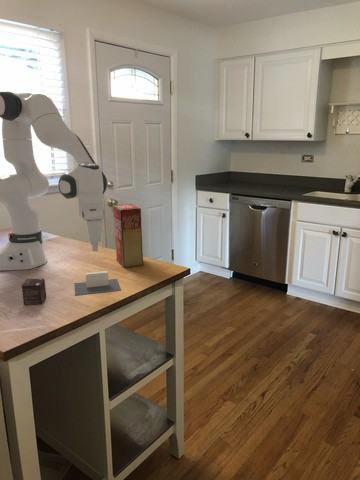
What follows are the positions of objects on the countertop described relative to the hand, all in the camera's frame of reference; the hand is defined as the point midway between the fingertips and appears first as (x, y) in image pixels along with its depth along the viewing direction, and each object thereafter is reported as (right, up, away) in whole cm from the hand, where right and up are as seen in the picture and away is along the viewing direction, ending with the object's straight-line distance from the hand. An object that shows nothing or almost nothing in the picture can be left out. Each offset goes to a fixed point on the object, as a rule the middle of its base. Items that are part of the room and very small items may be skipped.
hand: (94, 248), depth 139 cm
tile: (0, -14, +4) cm, 15 cm away
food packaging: (+9, -7, +31) cm, 33 cm away
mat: (0, -15, +3) cm, 15 cm away
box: (-18, -18, -9) cm, 27 cm away
